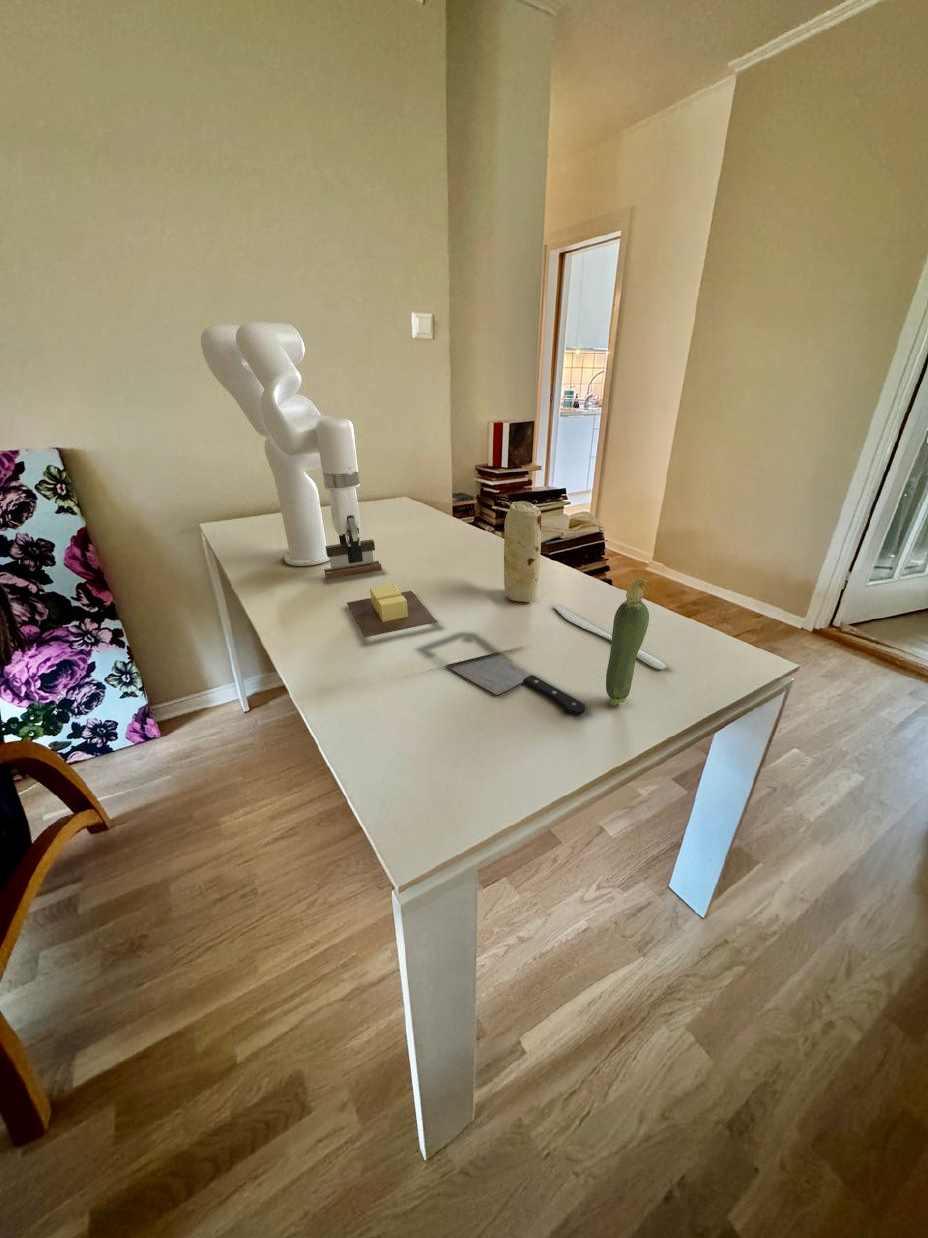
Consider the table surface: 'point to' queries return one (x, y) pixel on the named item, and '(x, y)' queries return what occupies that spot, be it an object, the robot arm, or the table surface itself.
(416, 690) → the table surface
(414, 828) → the table surface
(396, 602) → the butter pat
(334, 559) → the cutter
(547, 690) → the cleaver
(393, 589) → the butter stick
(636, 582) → the vegetable
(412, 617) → the board
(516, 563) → the food model
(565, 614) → the butter knife
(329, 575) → the holder
